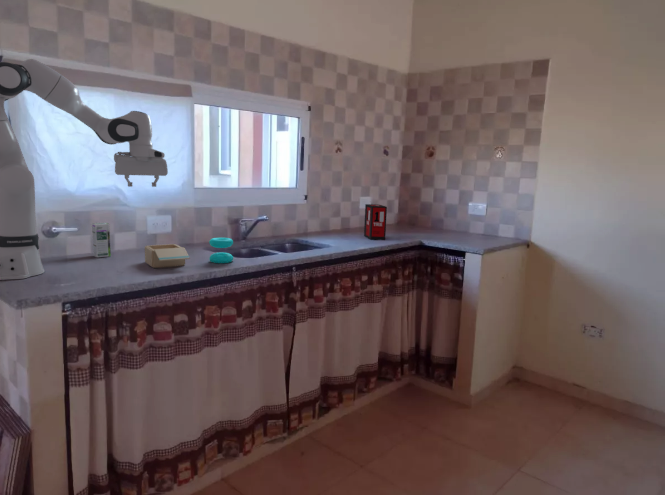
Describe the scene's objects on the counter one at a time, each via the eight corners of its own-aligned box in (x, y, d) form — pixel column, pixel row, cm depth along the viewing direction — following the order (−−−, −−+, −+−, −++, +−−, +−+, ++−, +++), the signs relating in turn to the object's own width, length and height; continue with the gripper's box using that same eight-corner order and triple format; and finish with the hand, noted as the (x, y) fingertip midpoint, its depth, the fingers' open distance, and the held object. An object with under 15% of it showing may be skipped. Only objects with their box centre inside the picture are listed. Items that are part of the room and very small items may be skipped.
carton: (152, 268, 186) (152, 250, 185) (144, 262, 197) (143, 245, 196) (185, 265, 193) (185, 248, 192) (176, 259, 204) (175, 243, 203)
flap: (154, 250, 185) (159, 261, 179) (154, 249, 185) (159, 260, 179) (184, 248, 191) (189, 259, 186) (184, 247, 191) (190, 257, 186)
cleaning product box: (385, 240, 283) (386, 206, 280) (370, 240, 282) (372, 206, 278) (377, 236, 299) (379, 204, 296) (363, 236, 298) (365, 204, 294)
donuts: (234, 240, 199) (210, 240, 196) (234, 263, 201) (210, 264, 198) (231, 236, 209) (208, 237, 205) (231, 259, 210) (208, 259, 207)
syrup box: (96, 257, 202) (95, 224, 200) (93, 255, 207) (91, 222, 205) (111, 256, 206) (109, 223, 204) (107, 254, 210) (105, 222, 208)
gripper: (115, 151, 185) (116, 186, 188) (168, 153, 197) (169, 187, 199) (112, 151, 191) (113, 186, 193) (164, 153, 202) (165, 186, 204)
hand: (142, 186), depth 196 cm, fingers open, 8 cm apart
